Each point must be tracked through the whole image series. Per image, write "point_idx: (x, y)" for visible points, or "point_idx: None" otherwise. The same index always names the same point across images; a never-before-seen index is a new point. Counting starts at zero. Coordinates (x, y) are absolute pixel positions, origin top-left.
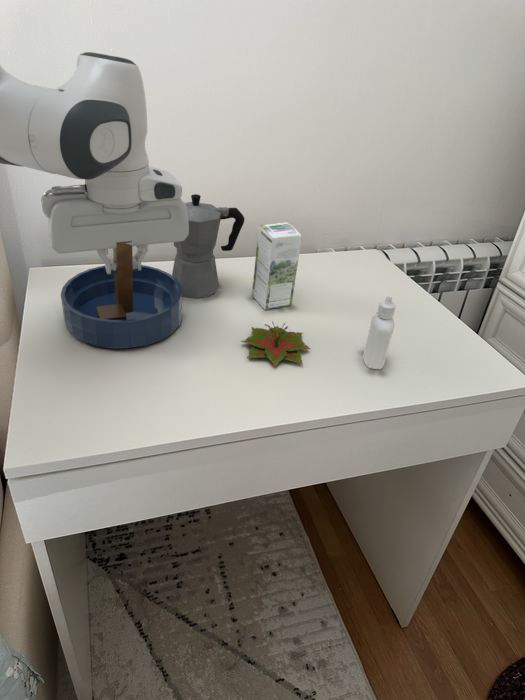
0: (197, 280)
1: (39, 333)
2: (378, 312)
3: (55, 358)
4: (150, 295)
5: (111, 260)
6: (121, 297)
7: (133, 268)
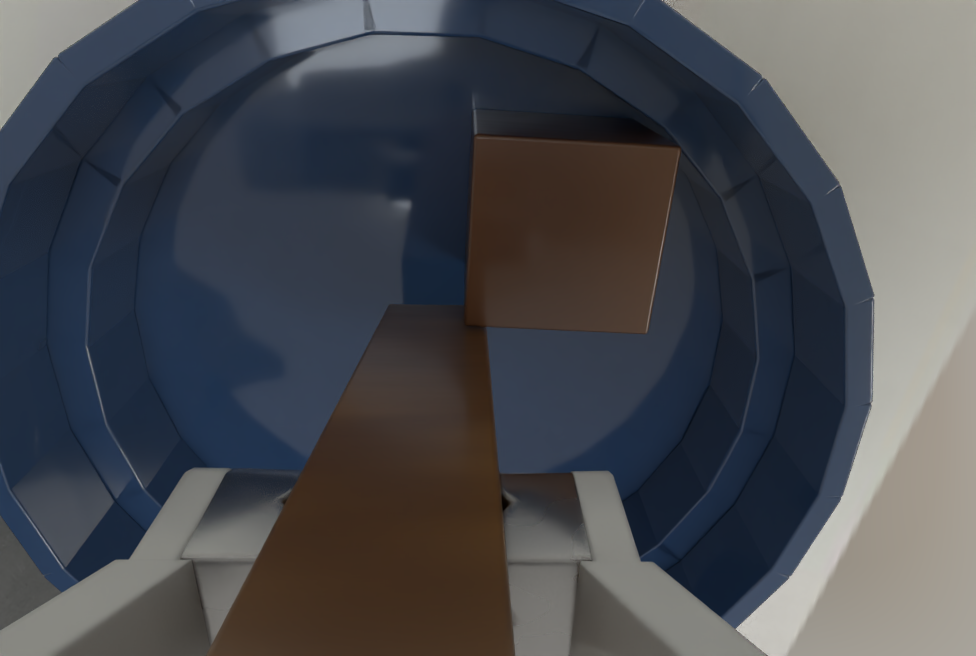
0: None
1: (897, 332)
2: None
3: (930, 57)
4: None
5: (540, 649)
6: (461, 344)
7: (282, 486)
